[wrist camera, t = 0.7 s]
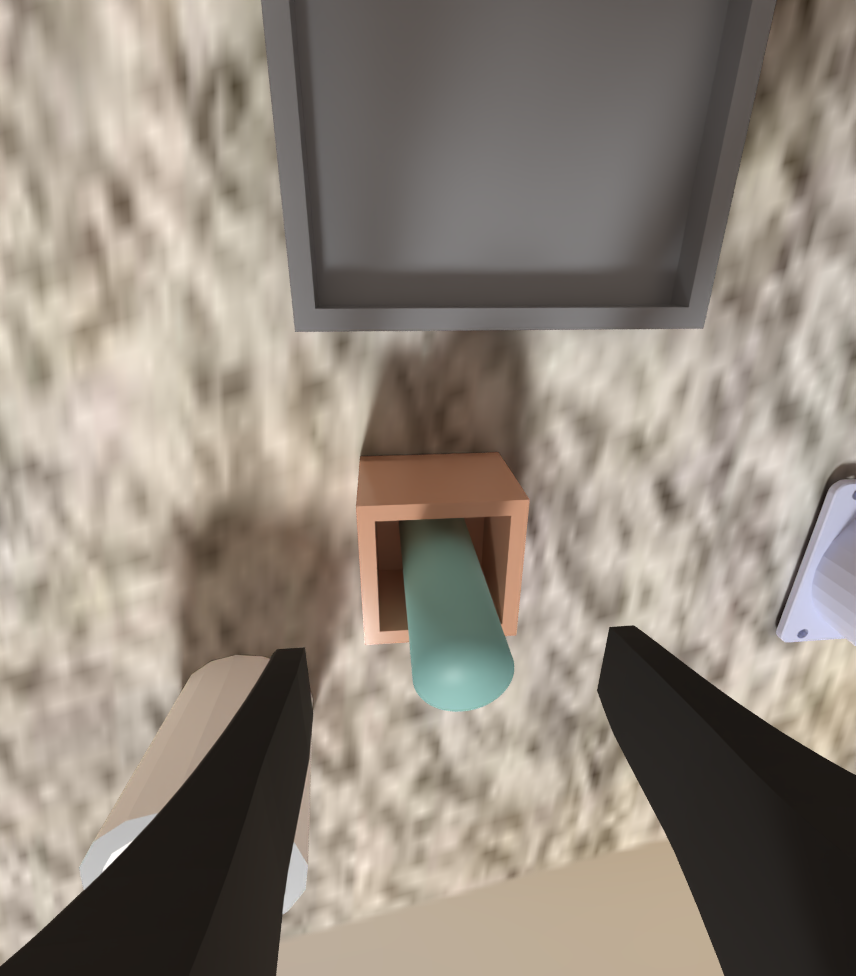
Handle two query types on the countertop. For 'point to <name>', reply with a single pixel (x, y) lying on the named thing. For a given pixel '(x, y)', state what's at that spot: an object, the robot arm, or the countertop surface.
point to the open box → (437, 495)
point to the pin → (451, 618)
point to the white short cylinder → (191, 766)
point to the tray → (508, 158)
